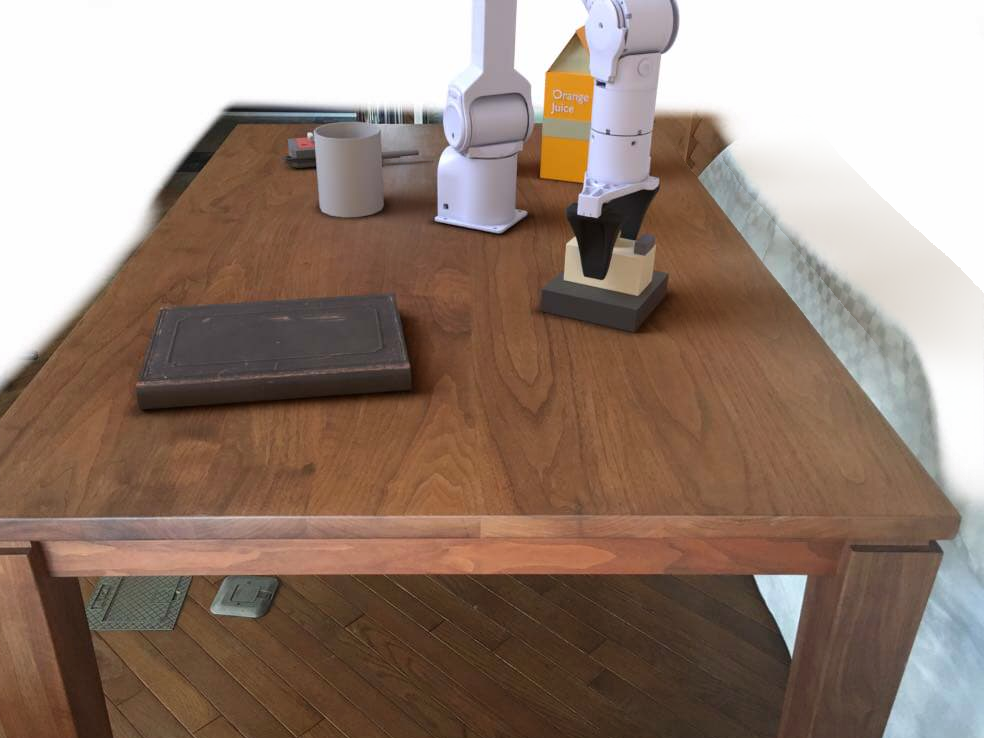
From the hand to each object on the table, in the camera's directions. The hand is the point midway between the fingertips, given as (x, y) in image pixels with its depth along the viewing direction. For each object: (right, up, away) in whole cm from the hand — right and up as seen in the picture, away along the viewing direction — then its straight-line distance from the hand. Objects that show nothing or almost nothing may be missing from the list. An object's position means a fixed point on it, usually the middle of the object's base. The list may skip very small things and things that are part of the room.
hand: (608, 263), depth 91 cm
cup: (-29, +12, +28) cm, 42 cm away
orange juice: (+2, +20, +40) cm, 45 cm away
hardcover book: (-32, -10, -8) cm, 34 cm away
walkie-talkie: (-31, +23, +46) cm, 60 cm away
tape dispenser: (0, -2, +1) cm, 2 cm away
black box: (0, -4, +2) cm, 4 cm away
